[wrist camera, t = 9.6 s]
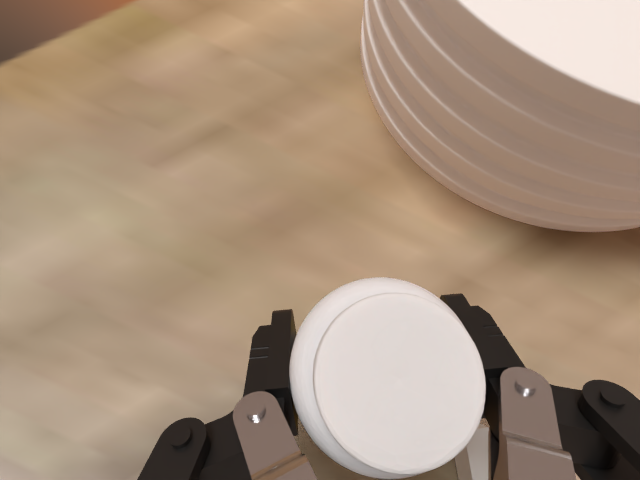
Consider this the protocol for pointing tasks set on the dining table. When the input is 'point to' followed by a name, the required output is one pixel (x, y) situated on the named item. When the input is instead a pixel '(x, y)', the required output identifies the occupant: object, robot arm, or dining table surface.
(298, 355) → the supplement bottle
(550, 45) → the plate stack
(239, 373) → the dining table surface
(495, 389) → the robot arm
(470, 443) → the trap channel
